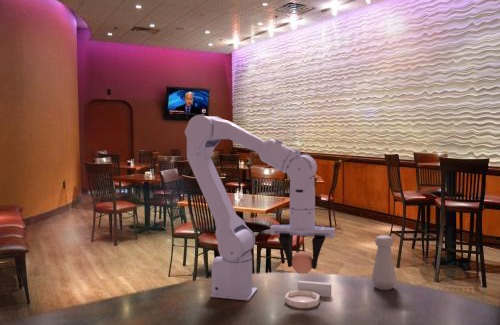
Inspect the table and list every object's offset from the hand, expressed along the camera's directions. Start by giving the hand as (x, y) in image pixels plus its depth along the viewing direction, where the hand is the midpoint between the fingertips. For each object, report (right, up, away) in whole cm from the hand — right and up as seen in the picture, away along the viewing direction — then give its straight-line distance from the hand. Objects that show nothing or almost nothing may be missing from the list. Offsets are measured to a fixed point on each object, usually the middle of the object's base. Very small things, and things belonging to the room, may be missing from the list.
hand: (302, 266), depth 106 cm
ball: (0, -2, 0) cm, 2 cm away
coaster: (0, -8, +1) cm, 8 cm away
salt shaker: (+21, -8, +10) cm, 25 cm away
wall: (+3, -8, +5) cm, 10 cm away
